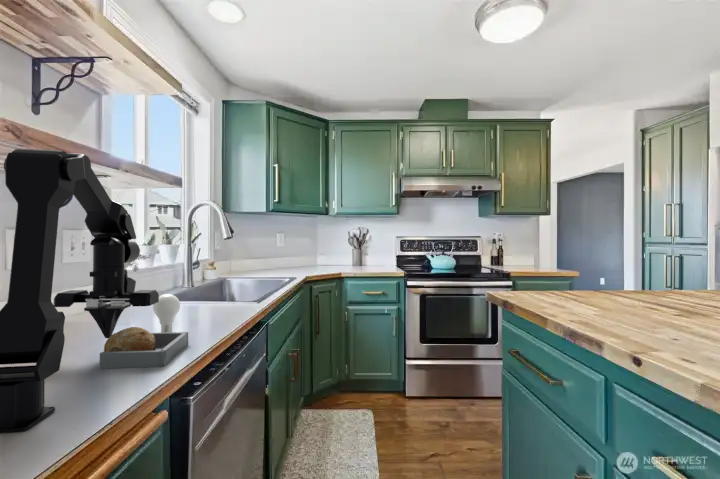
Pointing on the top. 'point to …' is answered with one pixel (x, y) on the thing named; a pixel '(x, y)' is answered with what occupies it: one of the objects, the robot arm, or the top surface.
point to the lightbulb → (166, 311)
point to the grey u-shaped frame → (147, 353)
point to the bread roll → (130, 340)
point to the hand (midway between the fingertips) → (108, 337)
